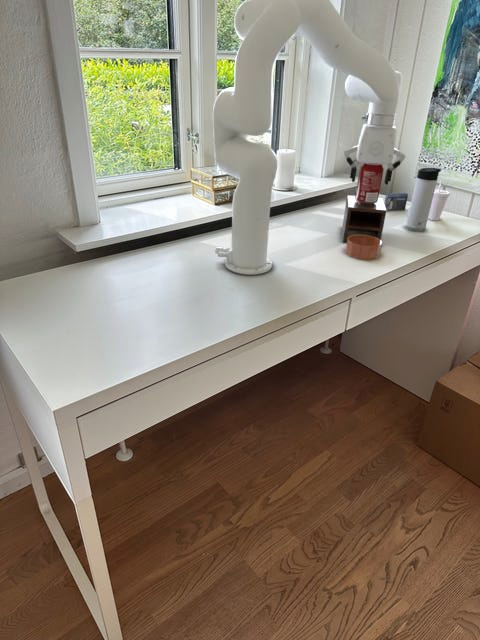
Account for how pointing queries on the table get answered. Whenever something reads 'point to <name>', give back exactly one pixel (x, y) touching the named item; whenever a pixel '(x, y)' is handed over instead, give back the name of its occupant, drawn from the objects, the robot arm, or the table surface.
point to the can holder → (363, 247)
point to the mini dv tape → (395, 201)
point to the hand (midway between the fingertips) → (369, 182)
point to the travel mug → (422, 199)
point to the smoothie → (438, 203)
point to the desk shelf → (363, 217)
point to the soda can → (369, 183)
